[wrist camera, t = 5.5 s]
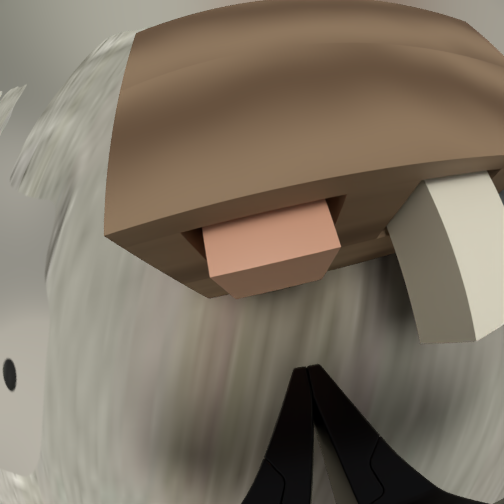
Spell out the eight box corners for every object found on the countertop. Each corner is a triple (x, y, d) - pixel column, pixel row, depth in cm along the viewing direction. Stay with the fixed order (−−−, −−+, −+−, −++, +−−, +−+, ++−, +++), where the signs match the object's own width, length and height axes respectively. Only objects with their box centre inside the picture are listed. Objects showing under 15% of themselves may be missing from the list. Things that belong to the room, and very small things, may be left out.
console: (495, 222, 15) (575, 153, 5) (208, 298, 16) (103, 235, 6) (430, 106, 19) (465, 21, 9) (187, 142, 20) (135, 33, 10)
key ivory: (476, 316, 9) (533, 302, 6) (420, 343, 9) (476, 341, 6) (437, 199, 11) (477, 154, 7) (381, 212, 11) (413, 160, 8)
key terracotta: (322, 279, 11) (340, 246, 7) (235, 299, 11) (209, 277, 7) (284, 157, 13) (282, 95, 9) (213, 174, 13) (188, 117, 9)
